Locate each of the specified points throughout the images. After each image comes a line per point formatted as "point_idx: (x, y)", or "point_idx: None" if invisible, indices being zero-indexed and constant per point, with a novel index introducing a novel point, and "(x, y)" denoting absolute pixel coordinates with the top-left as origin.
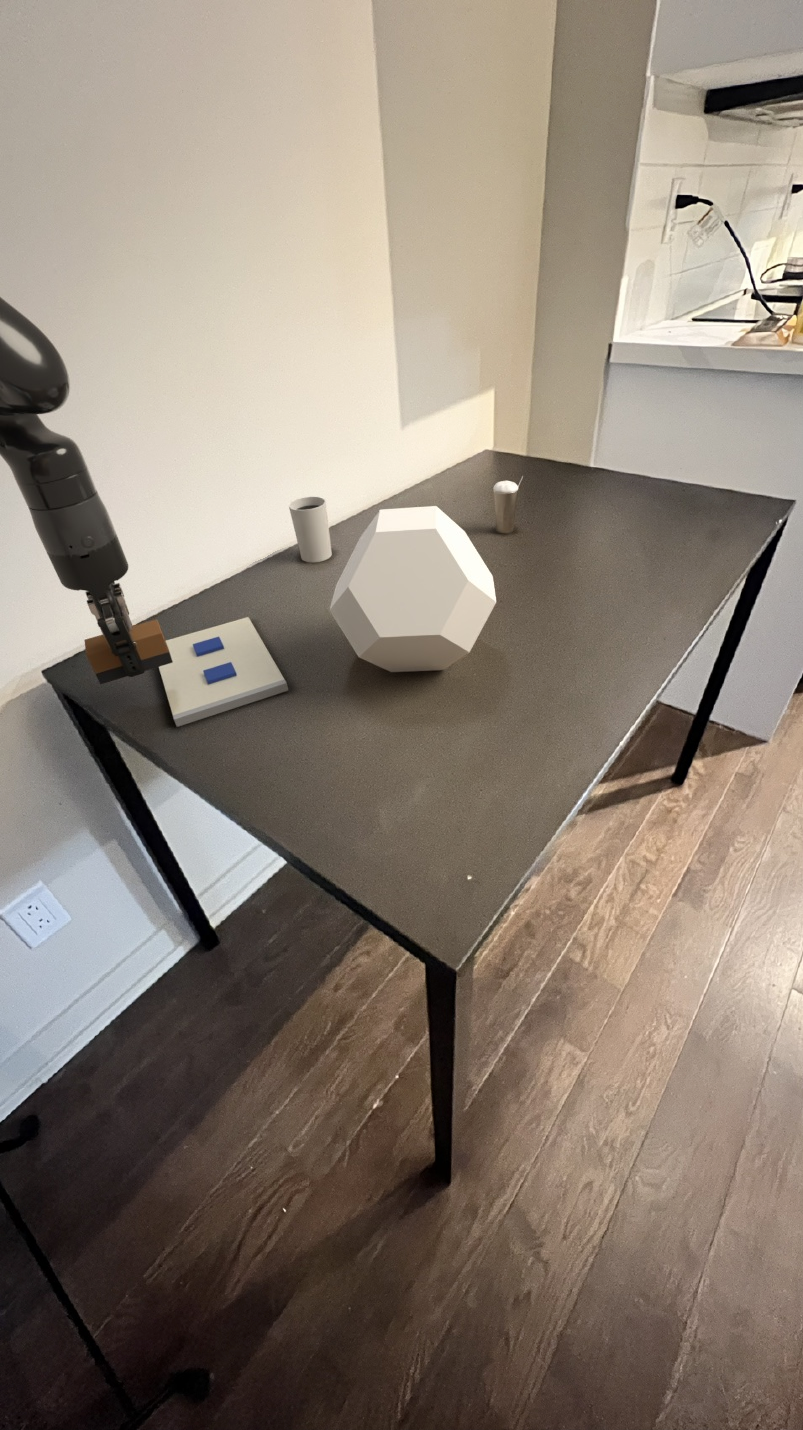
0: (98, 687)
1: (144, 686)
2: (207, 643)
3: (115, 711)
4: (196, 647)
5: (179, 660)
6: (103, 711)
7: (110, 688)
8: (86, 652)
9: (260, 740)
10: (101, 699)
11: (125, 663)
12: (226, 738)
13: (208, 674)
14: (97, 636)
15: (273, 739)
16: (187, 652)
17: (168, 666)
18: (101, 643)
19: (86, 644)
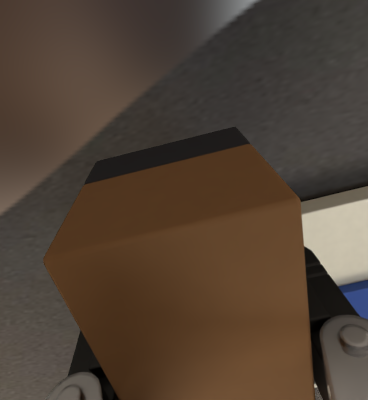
0: (346, 8)
1: (278, 161)
2: (360, 314)
3: (182, 94)
4: (358, 294)
5: (331, 253)
6: (195, 54)
7: (318, 56)
8: (71, 258)
9: (11, 381)
10: (266, 34)
11: (78, 341)
12: (22, 338)
13: None
14: (294, 284)
15: (12, 395)
16: (359, 267)
17: (317, 231)
18: (178, 324)
19: (203, 233)
